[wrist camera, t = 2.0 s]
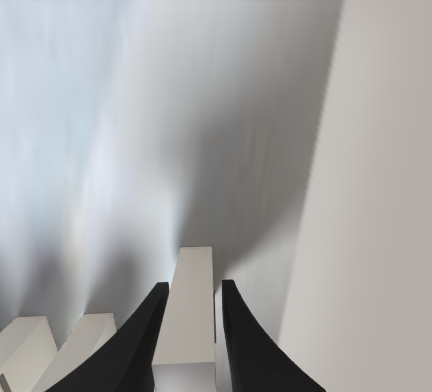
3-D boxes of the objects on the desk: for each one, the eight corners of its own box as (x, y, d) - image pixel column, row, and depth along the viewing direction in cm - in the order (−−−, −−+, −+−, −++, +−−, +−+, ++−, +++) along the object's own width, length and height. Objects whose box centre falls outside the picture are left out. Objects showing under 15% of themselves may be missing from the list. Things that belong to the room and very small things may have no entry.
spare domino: (214, 296, 15) (219, 438, 8) (184, 298, 14) (163, 441, 8) (213, 246, 13) (216, 361, 7) (180, 247, 13) (151, 364, 7)
